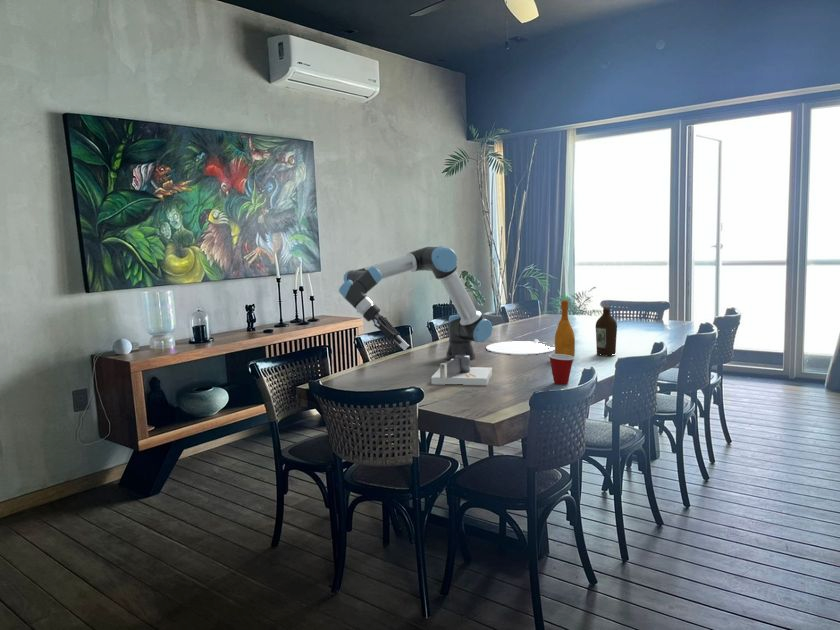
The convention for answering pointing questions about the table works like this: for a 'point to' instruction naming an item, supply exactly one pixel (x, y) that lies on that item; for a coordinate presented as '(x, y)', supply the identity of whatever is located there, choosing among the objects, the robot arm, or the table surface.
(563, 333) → the wine bottle
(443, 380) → the instrument base
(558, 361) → the plastic cup
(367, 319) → the robot arm
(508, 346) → the lazy susan
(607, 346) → the olive oil
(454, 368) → the dark grey lever
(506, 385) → the table surface
